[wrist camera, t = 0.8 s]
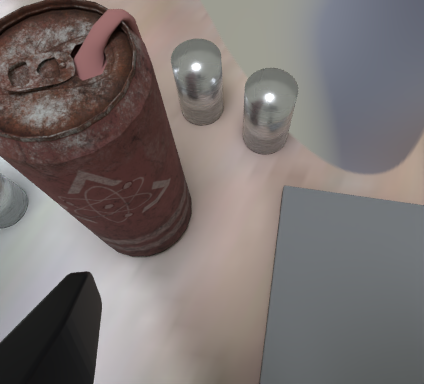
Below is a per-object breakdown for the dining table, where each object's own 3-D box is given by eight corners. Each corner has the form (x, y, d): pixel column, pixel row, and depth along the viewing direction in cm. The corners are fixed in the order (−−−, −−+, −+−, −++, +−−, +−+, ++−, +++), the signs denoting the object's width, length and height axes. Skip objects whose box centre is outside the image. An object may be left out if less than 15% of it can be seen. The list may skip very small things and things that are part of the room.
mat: (504, 494, 18) (513, 499, 18) (252, 438, 20) (253, 441, 19) (481, 217, 23) (487, 214, 23) (282, 189, 25) (283, 185, 24)
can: (213, 197, 25) (190, 30, 12) (152, 278, 23) (45, 186, 10) (142, 150, 26) (52, -42, 13) (79, 223, 25) (-94, 82, 12)
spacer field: (293, 147, 26) (309, 92, 20) (-17, 233, 25) (-90, 199, 19) (258, 63, 29) (263, -6, 23) (-21, 136, 27) (-86, 83, 22)
